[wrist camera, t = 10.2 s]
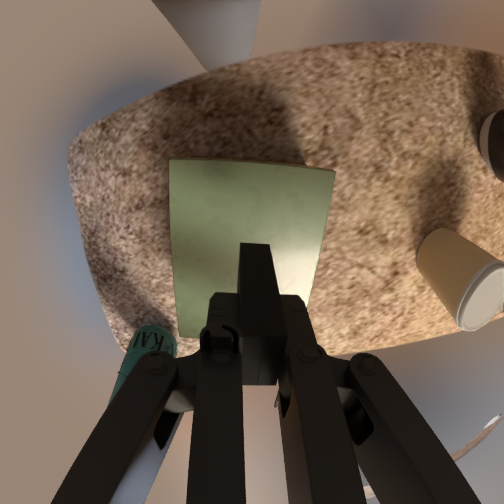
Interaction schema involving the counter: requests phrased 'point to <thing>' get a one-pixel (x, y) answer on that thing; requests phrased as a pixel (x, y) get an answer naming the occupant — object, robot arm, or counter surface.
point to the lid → (242, 227)
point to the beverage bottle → (144, 349)
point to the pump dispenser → (493, 143)
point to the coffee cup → (462, 277)
